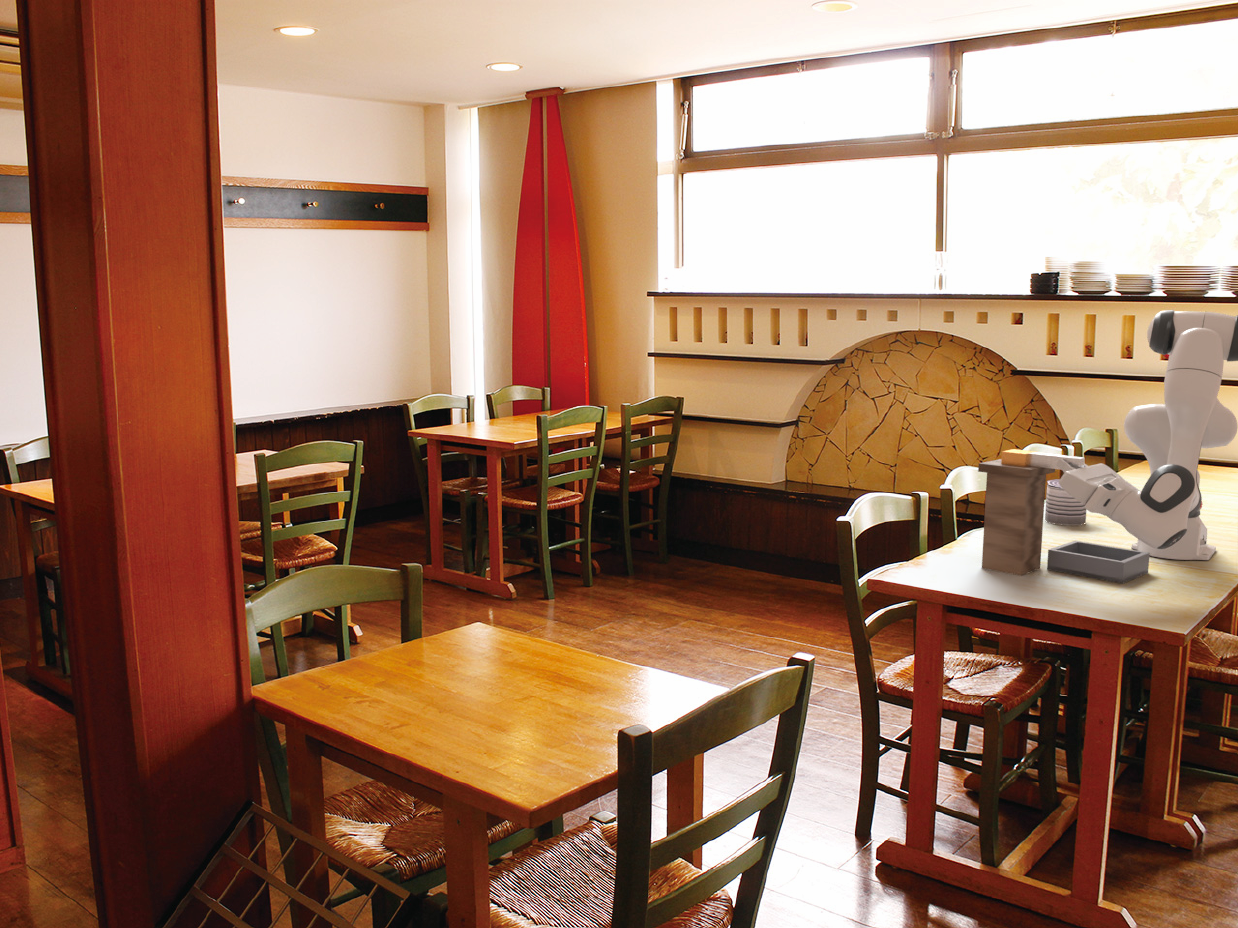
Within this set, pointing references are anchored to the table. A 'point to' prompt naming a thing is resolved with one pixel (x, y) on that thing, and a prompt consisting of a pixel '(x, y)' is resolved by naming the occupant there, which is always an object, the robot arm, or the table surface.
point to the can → (1063, 506)
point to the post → (1013, 517)
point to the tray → (1098, 561)
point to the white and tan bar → (1039, 459)
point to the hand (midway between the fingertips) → (1063, 460)
